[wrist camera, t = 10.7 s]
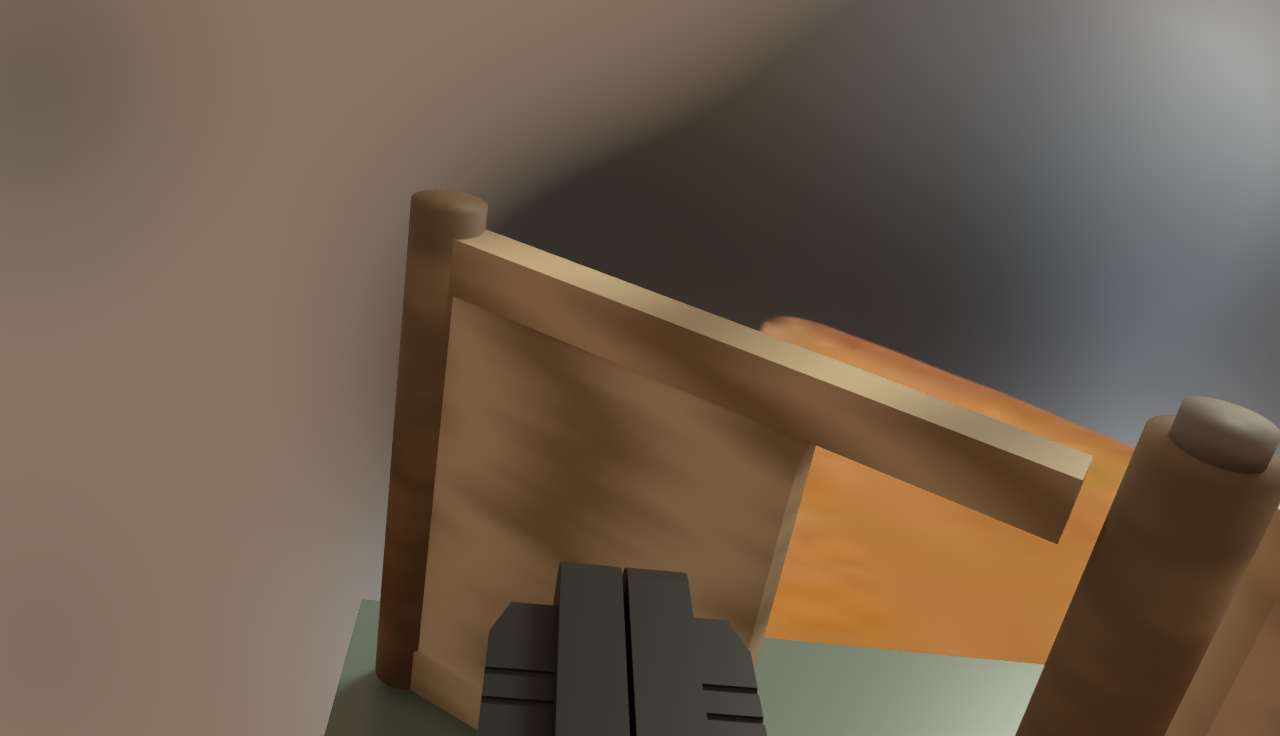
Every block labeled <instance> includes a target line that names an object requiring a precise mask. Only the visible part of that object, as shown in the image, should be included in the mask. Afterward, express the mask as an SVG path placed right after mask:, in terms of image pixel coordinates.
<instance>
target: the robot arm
mask: <svg viewBox="0 0 1280 736" xmlns="http://www.w3.org/2000/svg"><path fill="white" fill-rule="evenodd" d="M757 690H758V687H757V682H756V676H755V671H754V666H753V661H752V656H751V652H750V651H749V649H748V648H747V647H746V645H745V644H744V643H743V641H742V640H741V638H740V637H739V636H738V634H737V633H736V632H735V630H734V629H733V627H732V626H731V625H730V623H729V622H728V621H727V620H718V619H706V618H695V617H693V611H692V603H691V596H690V588H689V581H688V577H687V574H686V573H683V572H672V571H661V570H650V569H639V568H628V567H625V568H624V571H623V574H622V569H621V567H614V566H603V565H593V564H582V563H571V562H560V563H559V568H558V574H557V581H556V588H555V595H554V602H553V605H543V604H531V603H520V602H511V603H510V604H509V605H508V607H507V608H506V609H505V611H504V612H503V613H502V615H501V616H500V617H499V619H498V620H497V621H496V623H495V624H494V625H493V627H492V628H491V629H490V631H489V637H488V645H487V654H486V662H485V671H484V679H483V688H482V696H481V705H480V713H479V722H478V730H477V736H767V732H766V727H765V725H763V712H762V707H761V702H760V697H759V695H757Z"/></svg>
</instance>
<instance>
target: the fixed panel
mask: <svg viewBox="0 0 1280 736" xmlns="http://www.w3.org/2000/svg"><path fill="white" fill-rule="evenodd" d="M1164 736H1280V504H1279V506H1278V508H1277V510H1276V512H1275V514H1274V516H1273V518H1272V520H1271V522H1270V524H1269V526H1268V528H1267V530H1266V532H1265V534H1264V536H1263V538H1262V540H1261V542H1260V545H1259V547H1258V549H1257V551H1256V553H1255V555H1254V557H1253V559H1252V561H1251V563H1250V565H1249V567H1248V569H1247V571H1246V573H1245V575H1244V577H1243V579H1242V581H1241V583H1240V585H1239V587H1238V589H1237V591H1236V593H1235V595H1234V597H1233V599H1232V601H1231V603H1230V605H1229V607H1228V609H1227V611H1226V613H1225V615H1224V617H1223V619H1222V621H1221V623H1220V625H1219V627H1218V629H1217V631H1216V633H1215V635H1214V637H1213V639H1212V641H1211V643H1210V645H1209V647H1208V649H1207V651H1206V653H1205V655H1204V657H1203V659H1202V661H1201V663H1200V665H1199V667H1198V669H1197V671H1196V673H1195V675H1194V677H1193V679H1192V681H1191V683H1190V685H1189V687H1188V689H1187V691H1186V693H1185V695H1184V697H1183V699H1182V701H1181V703H1180V705H1179V707H1178V709H1177V711H1176V713H1175V715H1174V717H1173V719H1172V721H1171V723H1170V725H1169V727H1168V729H1167V731H1166V733H1165V735H1164Z"/></svg>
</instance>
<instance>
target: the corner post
mask: <svg viewBox="0 0 1280 736" xmlns="http://www.w3.org/2000/svg"><path fill="white" fill-rule="evenodd" d="M1279 442H1280V430H1279V429H1278V428H1277V427H1276V426H1275V425H1274V424H1273V423H1271V422H1270V421H1269V420H1267V419H1266V418H1264V417H1262V416H1261V415H1259V414H1257V413H1255V412H1253V411H1250V410H1249V409H1246V408H1244V407H1241V406H1238V405H1236V404H1233V403H1230V402H1226V401H1223V400H1219V399H1214V398H1208V397H1188V398H1186V399H1184V400H1183V401H1182V404H1181V406H1180V408H1179V410H1178V413H1177V415H1160V416H1156V417H1152V418H1151V419H1149V420H1148V421H1147V422H1146V424H1145V427H1144V429H1143V431H1142V434H1141V437H1140V439H1139V441H1138V443H1137V446H1136V448H1135V451H1134V453H1133V455H1132V458H1131V460H1130V462H1129V465H1128V467H1127V470H1126V472H1125V474H1124V477H1123V479H1122V482H1121V484H1120V486H1119V489H1118V491H1117V494H1116V496H1115V498H1114V501H1113V503H1112V505H1111V508H1110V510H1109V513H1108V515H1107V517H1106V520H1105V522H1104V525H1103V527H1102V529H1101V532H1100V534H1099V536H1098V539H1097V541H1096V544H1095V546H1094V548H1093V551H1092V553H1091V556H1090V558H1089V560H1088V563H1087V565H1086V568H1085V570H1084V572H1083V575H1082V577H1081V579H1080V582H1079V584H1078V587H1077V589H1076V591H1075V594H1074V596H1073V599H1072V601H1071V603H1070V606H1069V608H1068V610H1067V613H1066V615H1065V618H1064V620H1063V622H1062V625H1061V627H1060V630H1059V632H1058V634H1057V637H1056V639H1055V642H1054V644H1053V646H1052V649H1051V651H1050V653H1049V656H1048V658H1047V661H1046V663H1045V665H1044V668H1043V670H1042V673H1041V675H1040V677H1039V680H1038V682H1037V684H1036V687H1035V689H1034V692H1033V694H1032V696H1031V699H1030V701H1029V704H1028V706H1027V708H1026V711H1025V713H1024V715H1023V718H1022V720H1021V723H1020V725H1019V727H1018V730H1017V732H1016V735H1015V736H1164V735H1165V733H1166V731H1167V729H1168V727H1169V725H1170V723H1171V721H1172V719H1173V717H1174V715H1175V713H1176V711H1177V709H1178V707H1179V705H1180V703H1181V701H1182V699H1183V697H1184V695H1185V693H1186V691H1187V689H1188V687H1189V685H1190V683H1191V681H1192V679H1193V677H1194V675H1195V673H1196V671H1197V669H1198V667H1199V665H1200V663H1201V661H1202V659H1203V657H1204V655H1205V653H1206V651H1207V649H1208V647H1209V645H1210V643H1211V641H1212V639H1213V637H1214V635H1215V633H1216V631H1217V629H1218V627H1219V625H1220V623H1221V621H1222V619H1223V617H1224V615H1225V613H1226V611H1227V609H1228V607H1229V605H1230V603H1231V601H1232V599H1233V597H1234V595H1235V593H1236V591H1237V589H1238V587H1239V585H1240V583H1241V581H1242V579H1243V577H1244V575H1245V573H1246V571H1247V569H1248V567H1249V565H1250V563H1251V561H1252V559H1253V557H1254V555H1255V553H1256V551H1257V549H1258V547H1259V545H1260V542H1261V540H1262V538H1263V536H1264V534H1265V532H1266V530H1267V528H1268V526H1269V524H1270V522H1271V520H1272V518H1273V516H1274V514H1275V512H1276V510H1277V508H1278V506H1279V504H1280V456H1279V455H1278V454H1276V453H1275V451H1276V449H1277V446H1278V444H1279Z"/></svg>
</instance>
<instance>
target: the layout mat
mask: <svg viewBox="0 0 1280 736" xmlns="http://www.w3.org/2000/svg"><path fill="white" fill-rule="evenodd" d="M379 612H380V601H373V600H363V599H362V602H361V606H360V609H359V613H358V617H357V620H356V624H355V627H354V631H353V635H352V638H351V642H350V646H349V649H348V653H347V656H346V660H345V663H344V667H343V671H342V675H341V678H340V682H339V685H338V689H337V693H336V696H335V699H334V703H333V707H332V710H331V714H330V718H329V721H328V725H327V728H326V732H325V735H324V736H477V730H476V729H474V728H473V727H471V726H469V725H468V724H466V723H464V722H463V721H461V720H459V719H458V718H456V717H455V716H453V715H451V714H450V713H448V712H446V711H445V710H443V709H441V708H440V707H438V706H436V705H435V704H433V703H432V702H430V701H428V700H427V699H425V698H423V697H422V696H420V695H418V694H417V693H415V692H413V691H412V690H403V689H396V688H392V687H390V686H388V685H386V684H384V683H383V682H382V681H381V680H380V679H379V678H378V677H377V675H376V671H375V664H376V651H377V638H378V625H379ZM1043 668H1044V665H1042V664H1032V663H1021V662H1011V661H1000V660H990V659H979V658H969V657H959V656H948V655H938V654H927V653H917V652H906V651H896V650H885V649H875V648H865V647H854V646H844V645H833V644H823V643H812V642H802V641H791V640H781V639H770V638H763V642H762V645H761V649H760V653H759V656H758V660H757V664H756V667H755V676H756V682H757V687H758V690H757V695H759V697H760V702H761V707H762V712H763V725H765V727H766V732H767V736H1015V735H1016V732H1017V730H1018V727H1019V725H1020V723H1021V720H1022V718H1023V715H1024V713H1025V711H1026V708H1027V706H1028V704H1029V701H1030V699H1031V696H1032V694H1033V692H1034V689H1035V687H1036V684H1037V682H1038V680H1039V677H1040V675H1041V673H1042V670H1043Z"/></svg>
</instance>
